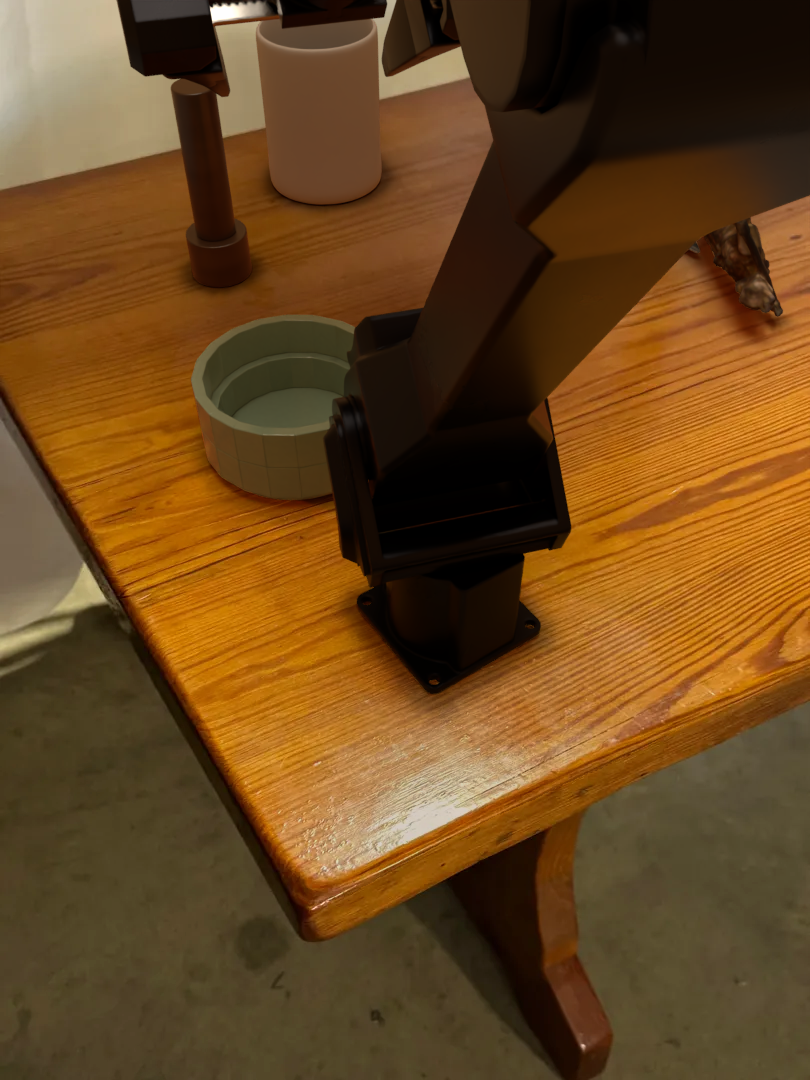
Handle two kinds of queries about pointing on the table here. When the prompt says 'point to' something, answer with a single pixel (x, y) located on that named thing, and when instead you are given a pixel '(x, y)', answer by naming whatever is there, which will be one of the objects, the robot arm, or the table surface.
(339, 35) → the mug
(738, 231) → the figurine
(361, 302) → the table surface
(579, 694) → the table surface
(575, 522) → the table surface
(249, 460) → the bowl
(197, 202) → the muddler
